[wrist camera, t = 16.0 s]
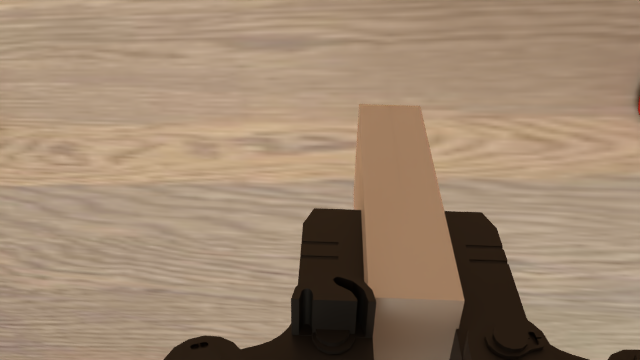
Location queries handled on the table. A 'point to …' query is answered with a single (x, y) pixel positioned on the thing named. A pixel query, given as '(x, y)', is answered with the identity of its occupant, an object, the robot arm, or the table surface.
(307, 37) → the table surface
